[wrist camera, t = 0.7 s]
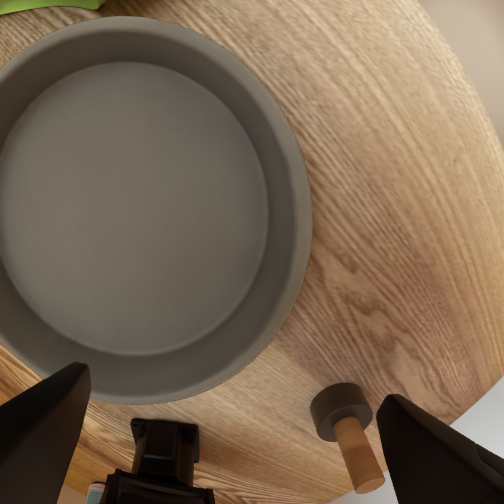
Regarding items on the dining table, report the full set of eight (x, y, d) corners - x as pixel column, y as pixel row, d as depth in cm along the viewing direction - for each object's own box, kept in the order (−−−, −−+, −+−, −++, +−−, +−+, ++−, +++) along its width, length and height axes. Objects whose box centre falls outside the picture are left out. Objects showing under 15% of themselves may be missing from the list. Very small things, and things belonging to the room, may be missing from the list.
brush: (353, 417, 28) (386, 494, 19) (305, 422, 28) (329, 506, 18) (369, 380, 27) (413, 461, 17) (316, 384, 26) (349, 476, 17)
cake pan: (355, 266, 22) (382, 294, 18) (107, 403, 25) (95, 438, 21) (168, -24, 15) (157, -57, 10) (-54, 189, 17) (-88, 201, 13)
